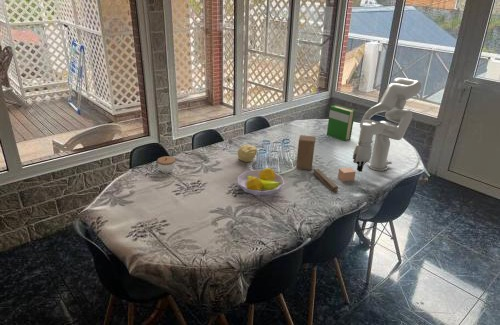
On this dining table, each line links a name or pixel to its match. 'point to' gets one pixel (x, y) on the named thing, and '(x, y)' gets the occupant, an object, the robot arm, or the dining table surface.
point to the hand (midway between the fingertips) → (359, 170)
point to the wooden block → (305, 152)
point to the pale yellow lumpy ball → (247, 153)
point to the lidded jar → (166, 164)
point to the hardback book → (340, 122)
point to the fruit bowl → (260, 182)
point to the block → (346, 174)
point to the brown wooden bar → (326, 180)
